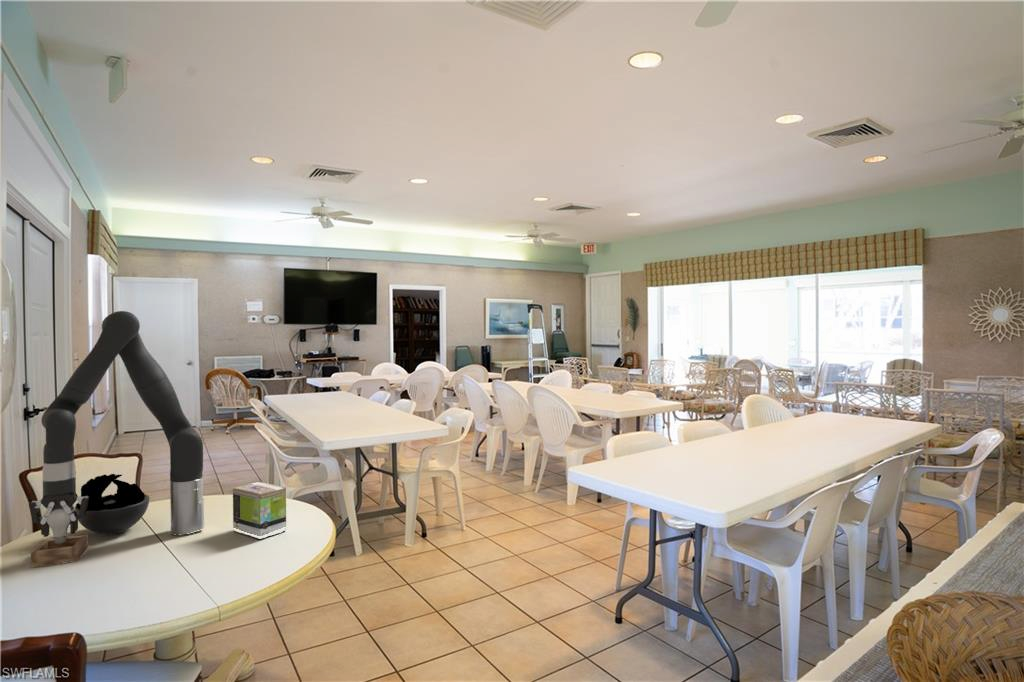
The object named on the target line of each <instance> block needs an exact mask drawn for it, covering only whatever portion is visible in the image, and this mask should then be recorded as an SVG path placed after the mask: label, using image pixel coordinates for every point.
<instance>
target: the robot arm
mask: <svg viewBox="0 0 1024 682" xmlns="http://www.w3.org/2000/svg"><path fill="white" fill-rule="evenodd" d="M140 328H141V326H140V321H139V319H138V317H137V316H136V315H135V314H134V313H132V312H131V311H130V312H129V311H126V310H119V311H115V312H112V313H110V314H108V315H107V316H106V317H105V318H103V320H102V323H101V333H100V335H99V337H98V339H97V341H96V343H95V344H94V346H93V347H92V349H91V350H90V352H89V353H88V355H87V356H86V357H85V358H84V360H82V362H80V363H79V365H78V367H76V369H75V370H74V372H73V373H72V374H71V376H70V377H69V379H68V381H67V382H66V383H65V385H64V386H63V388H62V389H61V391H60V393H59V394H58V395H57V396H56V397H55V399H54V400H53V401H52V402H51V403H50V405H48V407H47V408H46V410H45V411H44V412H43V414H42V417H41V425H42V427H43V428H44V429H45V443H44V446H43V452H42V454H43V461H42V462H43V466H42V498H41V499H40V500H35V499H34V500H32V501H31V502H29V503H28V508H29V512H30V515H31V516H30V517H31V520H32V523H33V524H40V528H41V529H40V530H41V531H40V533H41V536H43V537H44V538H47V537H49V536H50V526H49V525H48V523H47V517H48V516H49V514H50V513H51V511H53V510H56V509H64V510H65V512H66V513H67V514H68V515H70V519H71V522H70V525H69V530H70V531H69V532H70V533H69V534H70V535H73V534H75V533H76V532H77V531H78V529H79V521H78V519H80V518H83V517H84V516H85V515H86V511H87V506H88V501H89V496H85V497H81V496H78V493H77V489H76V487H77V481H76V479H77V477H76V475H77V471H76V462H75V447H74V445H75V444H74V443H75V436H76V430H77V429H76V428H77V426H76V425H77V419H76V416H75V415H76V414H77V413H78V411H79V410H80V408H81V407H82V406H83V405H85V404H86V403H87V402H88V401H89V400H90V398H91V397H92V395H93V394H94V392H95V391H96V389H97V388H98V386H99V384H100V383H101V381H102V379H103V378H104V376H105V374H106V373H107V372H108V369H109V368H110V366H111V365H112V363H113V361H114V360H115V359H116V357H117V356H118V355H119V357H120V358H121V360H122V362H123V364H124V367H125V370H126V372H127V373H128V376H129V378H130V380H131V382H132V384H133V386H134V388H135V390H136V392H137V393H138V396H139V397H140V398H141V400H142V402H143V403H144V405H145V406H146V407H147V409H148V411H149V412H150V413H151V414H152V415H153V417H154V418H155V419H156V420H157V422H158V423H159V425H160V426H161V429H162V430H163V432H164V435H165V437H166V440H167V443H168V447H169V461H170V462H169V463H170V464H169V465H170V467H169V469H170V470H169V489H170V490H169V494H170V497H169V498H170V499H169V500H170V534H171V533H172V534H176V535H175V536H180V535H179V534H187V533H191V532H194V531H197V530H200V529H202V528H203V529H204V527H203V525H204V526H205V509H204V508H205V504H204V503H205V502H204V501H205V499H204V497H203V496H204V492H203V490H204V488H203V471H204V443H203V439H202V437H201V435H200V434H199V433H198V432H197V431H196V430H195V428H194V427H193V425H192V423H191V422H190V421H189V419H188V418H187V417H186V415H185V413H184V412H183V409H182V406H181V403H180V400H179V398H178V395H177V393H176V391H175V388H174V387H173V384H172V383H171V380H170V379H169V377H168V376H167V374H166V372H165V370H164V369H163V368H162V366H161V365H160V364H159V363H158V362H157V360H156V359H155V358H154V357H153V356H152V354H151V353H150V352H149V351H148V349H147V348H146V346H145V344H144V342H143V339H142V338H141V335H140V333H139V332H140ZM77 501H78V503H79V504H80V505H81V506H80V511H79V514H77V512H76V509H75V506H74V504H75V503H76V502H77ZM41 505H42V506H43V508H45V509H46V510H45V511H44V513H43V517H42V515H41V512H40V509H39V508H41ZM172 534H171V535H172Z"/></svg>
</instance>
